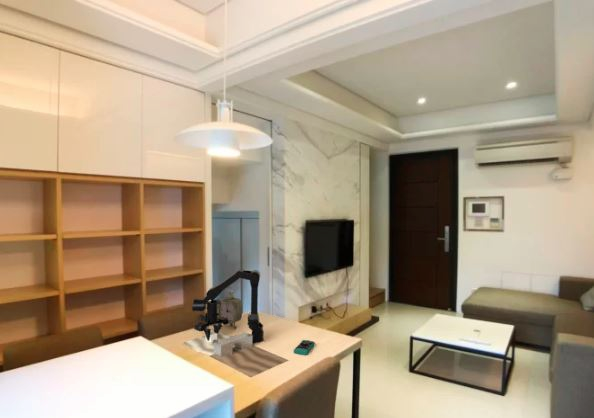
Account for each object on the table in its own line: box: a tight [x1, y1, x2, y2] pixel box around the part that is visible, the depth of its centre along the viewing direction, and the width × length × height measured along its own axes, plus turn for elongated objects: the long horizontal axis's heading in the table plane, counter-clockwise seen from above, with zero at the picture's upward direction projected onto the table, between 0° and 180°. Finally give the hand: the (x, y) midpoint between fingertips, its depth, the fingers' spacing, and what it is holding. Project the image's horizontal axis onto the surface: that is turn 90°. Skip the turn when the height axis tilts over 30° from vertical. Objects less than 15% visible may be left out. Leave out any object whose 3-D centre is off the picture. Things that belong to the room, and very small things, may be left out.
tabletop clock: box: [217, 286, 243, 330], centre depth 220 cm, size 14×9×25 cm, turn 68°
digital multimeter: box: [293, 339, 316, 356], centre depth 186 cm, size 7×15×3 cm, turn 160°
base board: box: [182, 331, 290, 378], centre depth 180 cm, size 24×57×1 cm, turn 48°
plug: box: [204, 330, 218, 343], centre depth 190 cm, size 4×19×4 cm, turn 47°
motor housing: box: [214, 332, 253, 359], centre depth 180 cm, size 20×6×6 cm, turn 138°
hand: (211, 339), depth 193 cm, fingers closed on plug, 4 cm apart
